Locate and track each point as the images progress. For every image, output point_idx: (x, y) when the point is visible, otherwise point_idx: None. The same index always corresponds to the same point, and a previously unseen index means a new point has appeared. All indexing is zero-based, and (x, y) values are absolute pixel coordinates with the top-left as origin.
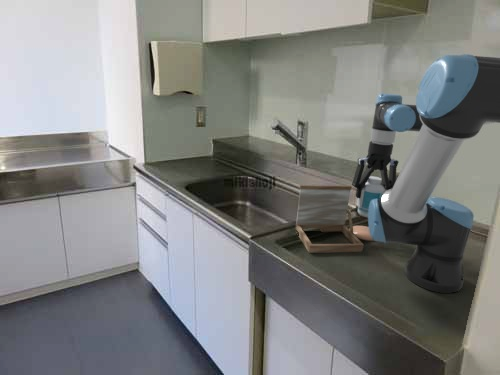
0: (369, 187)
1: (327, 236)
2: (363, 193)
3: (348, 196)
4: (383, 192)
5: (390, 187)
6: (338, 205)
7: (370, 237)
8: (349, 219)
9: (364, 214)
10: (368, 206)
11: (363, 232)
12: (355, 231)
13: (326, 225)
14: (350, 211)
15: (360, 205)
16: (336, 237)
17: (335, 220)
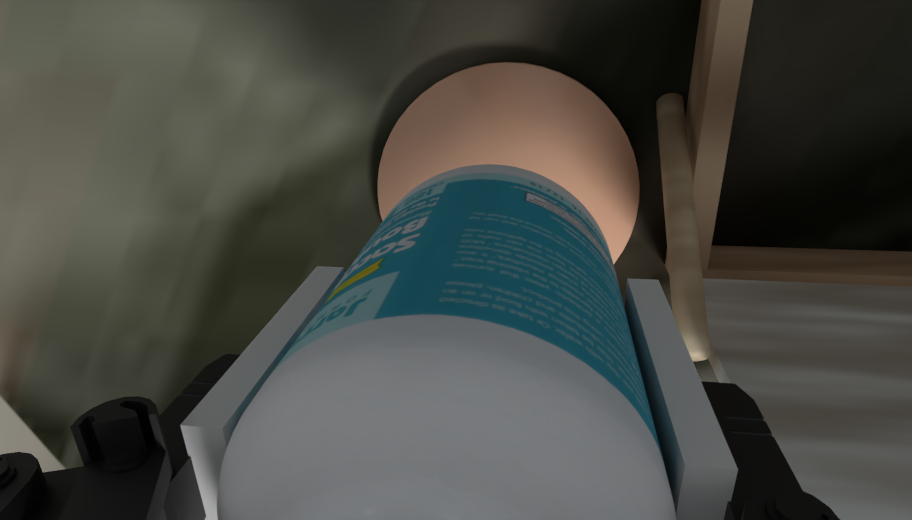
0: (615, 486)
1: (889, 158)
2: (681, 416)
3: None
4: (275, 368)
5: (69, 486)
6: (871, 401)
7: (506, 97)
8: (699, 253)
9: (587, 210)
10: (569, 234)
11: None
12: None
13: (875, 273)
14: (683, 333)
15: (656, 295)
16: (811, 136)
17: (797, 301)
